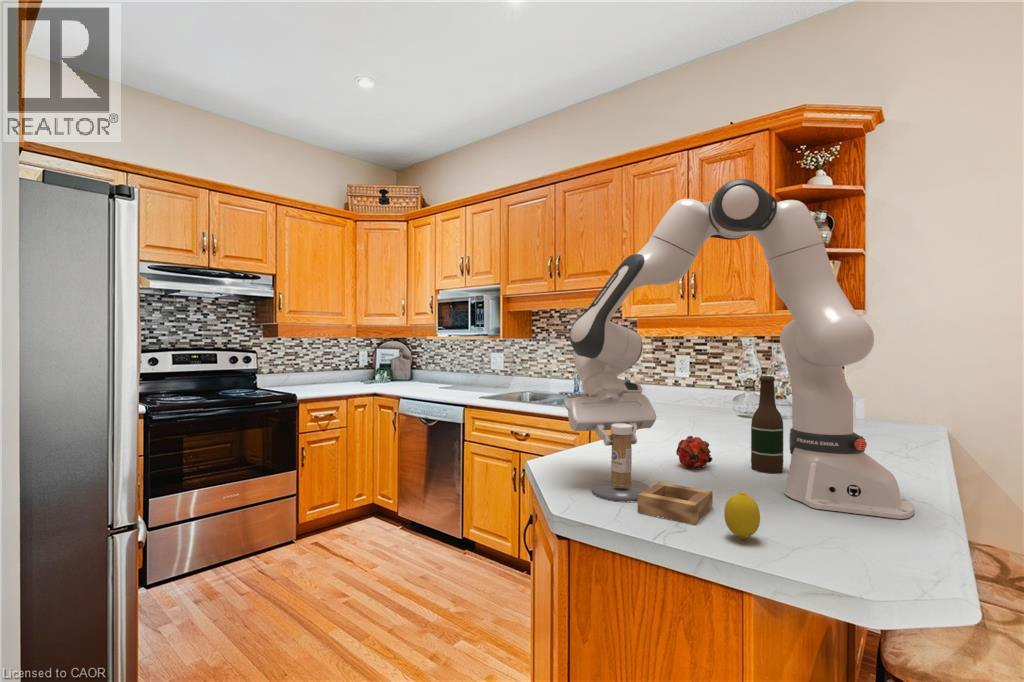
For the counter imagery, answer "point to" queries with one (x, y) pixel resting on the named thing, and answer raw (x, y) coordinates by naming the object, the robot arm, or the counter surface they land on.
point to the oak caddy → (675, 502)
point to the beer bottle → (767, 431)
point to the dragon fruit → (693, 452)
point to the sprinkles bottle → (621, 455)
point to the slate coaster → (618, 491)
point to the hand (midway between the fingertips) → (621, 443)
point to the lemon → (742, 515)
